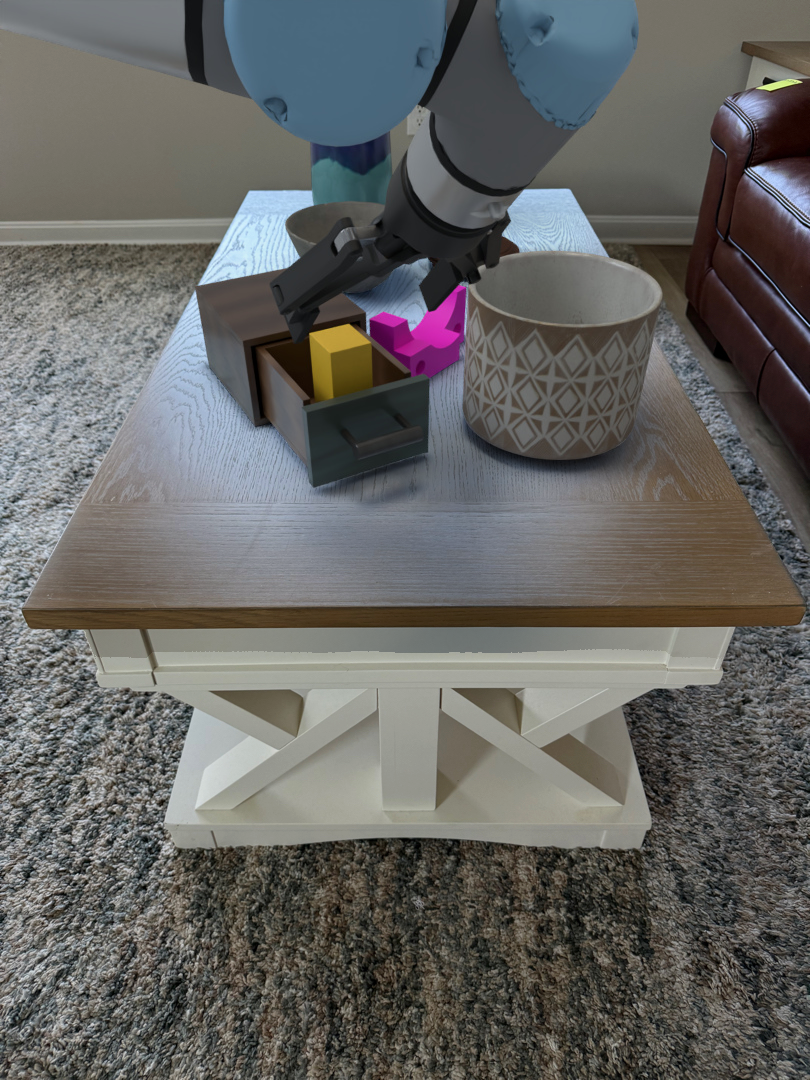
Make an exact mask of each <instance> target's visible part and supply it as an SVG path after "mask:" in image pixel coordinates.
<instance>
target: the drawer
mask: <svg viewBox="0 0 810 1080" xmlns="http://www.w3.org/2000/svg"><path fill="white" fill-rule="evenodd" d="M350 325H351V326H352V327H353V328H354V329H356V330H357V331H358V332H359V333H360V334H362V335H363V336H364V337H365V338H366V339H367V340H369V341H370V342H371V347H372V380H373V388H369V389H366V390H362V391H358V392H355V393H351V394H347V395H344V396H340V397H336V398H332V399H329V400H325V401H321V402H318V403H315V396H314V384H313V372H312V360H311V349H310V337H309V334H308V335H306V337H305V339H304V340H303V342H302V343H298V344H294V342H293V339H292V338H291V339H286V340H282V341H278V342H274V343H269V344H265V345H260V346H256V347H255V352H256V360H257V367H258V374H259V382H260V389H261V397H262V404H263V411H264V414H265V416H266V417H267V418H268V419H269V421H270V423H271V425H272V426H273V427H274V428H275V429H276V431H277V432H278V433H279V435H280V436H281V437H282V439H284V441H285V443H287V444H288V446H289V447H290V448H291V450H292V451H293V452H294V453H295V455H297V457H298V458H299V459H300V461H301V462H302V463H303V464H304V466H305V468H307V476H308V483H309V485H311V487H312V488H313V489H315V488H318V487H321V486H325V485H328V484H332V483H334V482H338V481H341V480H344V479H346V478H350V477H353V476H356V475H360V474H362V473H366V472H370V471H373V470H375V469H379V468H382V467H385V466H388V465H391V464H395V463H398V462H401V461H404V460H407V459H410V458H413V457H417V456H420V455H423V454H427V453H429V435H430V433H429V431H430V390H431V388H430V387H431V383H430V382H431V378H428V377H427V376H426V375H425V374H421V375H417V376H414V377H411V371H410V370H409V369H408V368H406V367H405V366H404V365H403V364H402V363H401V362H399V361H398V360H397V359H396V358H395V357H394V356H392V355H391V354H390V353H389V352H388V351H387V350H385V349H384V348H383V347H382V346H381V345H380V344H378V343H377V342H376V341H375V340H374V339H373V338H371V337H370V334H368V332H367V333H366V332H364V331H363V330H362V329H361V328H360V327H359V326H358V325H356V324H355V323H354V324H350Z"/></svg>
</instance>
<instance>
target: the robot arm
mask: <svg viewBox="0 0 810 1080" xmlns="http://www.w3.org/2000/svg"><path fill="white" fill-rule="evenodd" d="M639 21H640V20H639V11H638V8H637V3H636V0H0V30H2V31H5V32H10V33H13V34H17V35H21V36H25V37H28V38H31V39H35V40H39V41H41V42H46V43H50V44H54V45H57V46H61V47H65V48H69V49H73V50H76V51H79V52H83V53H86V54H91V55H94V56H98V57H101V58H106V59H109V60H113V61H116V62H120V63H123V64H126V65H127V64H128V65H131V66H135V67H139V68H142V69H145V70H150V71H153V72H156V73H160V74H164V75H167V76H171V77H175V78H179V79H182V80H186V81H189V82H193V83H196V84H197V83H198V84H200V85H204V86H208V87H211V88H214V89H216V90H219V91H221V92H224V93H228V94H231V95H235V96H239V97H243V98H245V99H250V100H253V102H254V103H255V104H256V105H257V106H258V107H259V108H260V110H261V111H262V112H263V113H264V114H265V115H266V116H267V117H268V118H269V119H270V120H271V121H273V122H274V123H276V124H277V125H278V126H279V127H280V128H282V129H283V130H285V131H286V132H288V133H290V134H291V135H293V136H295V137H296V138H298V139H301V140H304V141H306V142H309V143H310V142H312V143H316V144H320V145H326V146H335V147H338V146H352V145H357V144H362V143H365V142H368V141H370V140H373V139H376V138H378V137H380V136H382V135H383V134H385V133H387V132H389V131H390V132H391V130H393V129H394V128H396V127H397V126H398V125H400V124H401V123H402V122H403V121H404V120H405V119H406V118H407V117H408V116H409V115H410V114H412V113H413V111H414V109H415V108H416V107H417V106H419V107H420V108H424V109H426V110H428V111H427V114H426V115H425V116H424V119H423V120H422V122H421V123H420V125H419V127H418V129H417V130H416V131H415V133H414V135H413V138H412V140H411V141H410V143H409V144H410V145H409V146H408V148H407V149H406V150H405V151H404V154H403V156H402V158H401V159H400V161H399V163H397V166H396V168H395V170H394V171H393V172H392V177H391V179H390V181H389V185H388V188H387V194H386V201H385V208H384V211H383V212H382V213H381V214H380V215H378V216H377V217H376V218H374V219H373V220H372V222H371V223H370V225H369V226H364V227H356V228H355V227H354V224H353V222H352V219H351V218H350V217H344V218H341V219H339V220H338V221H337V222H336V223H335V224H334V226H333V227H332V229H331V230H330V232H329V233H328V235H327V236H326V237H324V238H323V239H322V240H321V241H320V242H318V243H317V244H316V245H315V246H314V247H312V248H311V249H310V250H309V251H308V252H306V253H305V254H304V255H303V256H302V257H299V258H297V260H295V261H294V262H293V263H292V264H291V265H289V266H288V267H286V268H287V269H286V270H285V271H284V272H282V273H281V274H280V275H279V276H278V277H276V278H275V279H274V280H273V281H272V282H270V284H269V286H270V288H271V291H272V294H273V297H274V299H275V302H276V305H277V308H278V310H279V313H280V315H284V317H285V320H286V323H287V325H288V328H289V331H290V334H291V336H292V339H293V342H294V344H298V343H302V342H303V340H304V339H305V337H306V335H307V334H308V332H309V330H310V329H311V327H312V325H313V323H314V322H315V320H316V318H317V317H318V315H319V313H320V310H319V307H318V306H320V305H322V304H323V303H325V302H327V301H329V300H330V299H332V298H334V297H336V296H337V295H339V294H341V293H345V292H344V291H346V290H348V289H349V288H351V287H353V286H354V285H356V284H358V283H360V282H361V281H363V280H365V279H366V278H368V277H370V276H375V277H378V278H380V277H383V276H385V275H386V274H388V273H390V272H392V271H393V270H394V271H395V270H397V269H398V268H400V267H402V266H404V265H408V266H409V265H412V264H414V263H416V262H417V261H419V260H424V259H428V258H430V257H433V258H438V259H440V260H439V261H438V262H437V263H436V265H435V266H434V267H433V266H432V268H431V269H430V271H429V272H428V273H427V274H426V275H425V276H424V278H423V279H422V281H421V282H420V283H419V284H418V288H419V290H420V293H421V296H422V299H423V301H424V304H425V306H426V309H427V310H428V312H432V311H435V310H436V309H437V308H438V307H439V306H440V305H441V304H442V303H443V302H444V301H445V300H446V298H447V297H448V296H449V295H450V294H451V293H452V292H453V291H454V290H455V289H456V288H457V286H458V285H460V284H462V283H463V281H465V278H466V280H467V284H469V285H471V284H475V283H477V282H479V281H480V280H481V276H480V273H479V270H478V268H477V267H479V266H482V265H485V267H486V269H490V268H491V269H492V268H494V267H496V266H497V265H498V264H499V260H500V251H501V242H502V236H503V233H504V232H505V230H506V229H507V228H508V226H509V225H510V224H511V223H512V219H511V217H510V214H509V212H508V211H509V210H508V209H510V207H511V206H512V205H513V204H514V202H515V201H516V200H517V199H518V198H519V196H520V195H521V194H522V193H523V192H524V191H525V190H526V188H527V187H529V186H530V185H531V184H532V182H533V181H534V180H535V179H536V177H537V176H538V175H539V174H540V172H541V171H542V170H543V169H544V168H545V167H546V166H547V165H548V163H550V161H551V160H552V159H553V158H554V157H555V156H557V154H558V153H559V152H560V151H561V150H562V149H563V148H564V146H565V145H566V144H567V143H568V142H569V141H570V140H571V139H572V138H573V136H574V135H575V134H576V133H577V132H578V131H579V130H580V129H581V128H583V127H584V126H586V125H587V124H588V123H589V122H590V121H591V120H592V118H593V117H594V116H595V115H596V113H597V110H598V109H599V107H600V106H601V105H602V103H603V102H604V101H605V100H606V98H607V97H608V96H609V94H610V93H611V92H612V91H613V89H614V88H615V86H616V85H617V83H618V82H619V80H620V78H621V77H622V76H623V74H624V73H625V72H626V71H627V69H628V67H629V66H630V64H631V62H632V60H633V58H634V55H635V53H636V51H637V48H638V41H639V35H640V34H639V33H640V23H639ZM373 244H374V245H375V247H376V249H377V250H378V251H379V252H380V253H381V254H382V255H383V256H384V257H385V258H386V259H387V260H385V261H384V262H382V263H380V261H379V258H378V255H377V253H376V250H375V247H374V245H373ZM394 271H393V272H394ZM393 272H392V273H393Z"/></svg>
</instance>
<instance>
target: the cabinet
mask: <svg viewBox="0 0 810 1080" xmlns="http://www.w3.org/2000/svg"><path fill="white" fill-rule="evenodd" d="M287 268H288V267H285V268H281V269H280V268H279V269H275V270H270V271H265V272H260V273H254V274H249V275H245V276H244V275H243V276H239V277H234V278H229V279H225V280H220V281H214V282H209V283H205V284H199V285H195V286H194V290H195V295H196V296H195V297H196V301H197V307H198V313H199V318H200V324H201V330H202V335H203V341H204V347H205V352H206V358H207V363H208V367H209V368H210V369H211V371H212V372H213V373H214V375H215V376H216V377H217V379H218V380H219V381H220V383H221V385H223V386H224V388H225V390H226V391H227V392H228V393H229V394H230V396H231V397H232V398H233V400H234V401H235V402H236V404H237V405H238V407H239V408H240V409H241V410H242V412H243V413H244V414H245V416H246V417H247V418H248V419H249V421H250V422H251V423H252V424H253V426H254V427H258V426H259V427H260V426H263V425H266V424H270V423H271V422H270V421H269V419H268V418H267V417H266V416H265V414H264V411H263V404H262V397H261V389H260V382H259V374H258V367H257V360H256V352H255V347H256V346H260V345H265V344H269V343H274V342H278V341H282V340H286V339H291V338H292V336H291V334H290V331H289V328H288V325H287V323H286V320H285V317H284V315H280V313H279V310H278V308H277V305H276V302H275V299H274V297H273V294H272V291H271V288H270V286H269V284H270V282H272V281H273V280H274V279H275V278H276V277H278V276H279V275H280V274H281V273H282V272H284V271H285V270H286V269H287ZM318 307H319V310H320V313H319V315H318V317H317V318H316V320H315V322H314V323H313V325H312V327H311V329H310V330H309V332H308V334H309V333H313V332H317V331H321V330H325V329H329V328H334V327H338V326H342V325H346V324H354V323H355V324H356V325H358V326H359V327H360V328H361V329H362V330H363V331H364V332H366V333H367V334H368V330H367V329H368V328H367V312H366V311H365V310H364V309H363V308H361V307H360V306H359V305H358V304H357V303H356V302H355V301H353V300H352V299H351V298H349V297H348V296H347V295H346V294H344V292H342V293H341V294H339V295H337V296H336V297H334V298H332V299H330V300H329V301H327V302H325V303H323V304H322V305H320V306H318ZM308 334H307V335H308Z"/></svg>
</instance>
